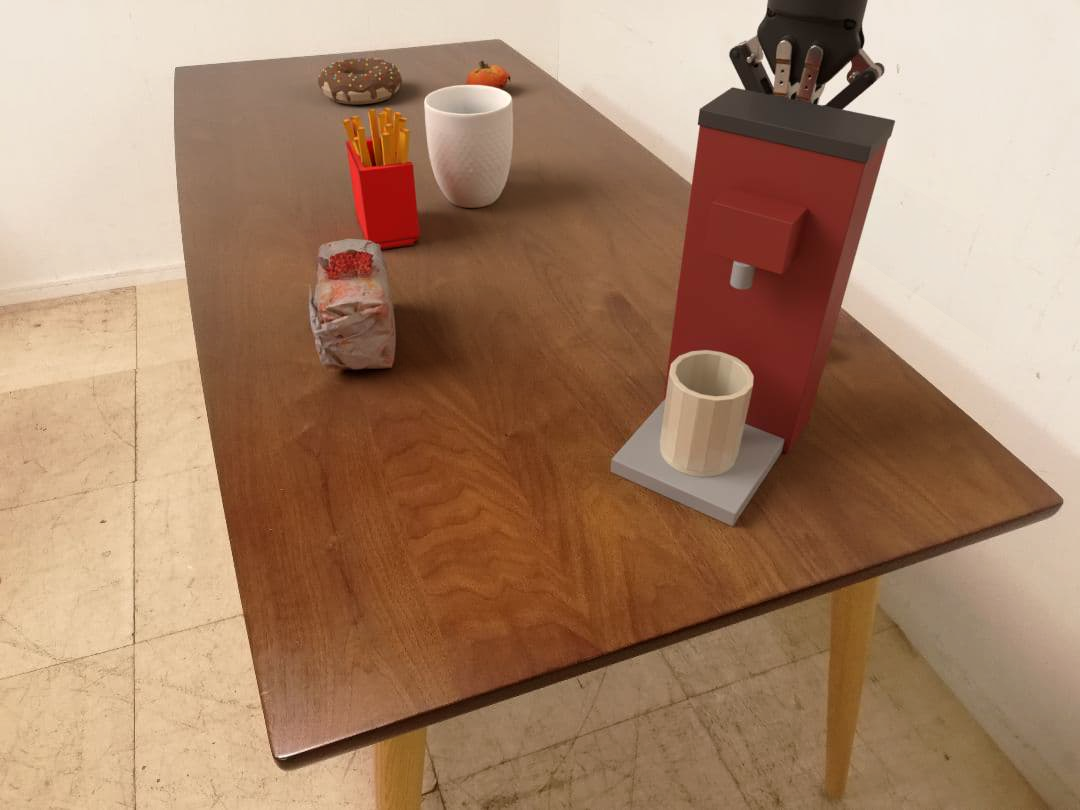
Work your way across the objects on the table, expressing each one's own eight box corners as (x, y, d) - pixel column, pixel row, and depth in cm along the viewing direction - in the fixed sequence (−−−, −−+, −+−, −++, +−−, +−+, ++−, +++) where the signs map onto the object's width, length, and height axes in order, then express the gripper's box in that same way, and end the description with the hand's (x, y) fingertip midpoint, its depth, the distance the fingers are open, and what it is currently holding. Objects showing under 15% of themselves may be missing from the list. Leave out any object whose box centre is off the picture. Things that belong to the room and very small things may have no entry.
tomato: (500, 71, 146) (505, 48, 139) (515, 106, 145) (520, 84, 138) (458, 83, 144) (460, 60, 137) (472, 119, 144) (475, 97, 136)
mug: (445, 167, 117) (438, 73, 109) (521, 171, 116) (521, 76, 108) (423, 214, 105) (414, 112, 97) (508, 218, 105) (506, 116, 96)
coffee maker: (739, 530, 63) (817, 204, 46) (603, 469, 69) (628, 155, 52) (811, 419, 74) (895, 120, 57) (688, 373, 79) (732, 86, 62)
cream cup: (739, 432, 70) (755, 356, 65) (734, 483, 65) (751, 405, 60) (664, 420, 71) (674, 345, 66) (654, 469, 67) (664, 392, 61)
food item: (405, 375, 79) (394, 286, 72) (320, 386, 77) (301, 296, 71) (391, 301, 89) (381, 217, 83) (316, 310, 87) (300, 225, 81)
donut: (347, 115, 133) (343, 83, 130) (307, 93, 141) (302, 63, 138) (421, 96, 140) (419, 66, 137) (379, 76, 148) (376, 47, 145)
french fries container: (409, 212, 106) (398, 102, 97) (425, 244, 99) (415, 130, 90) (354, 219, 104) (338, 109, 95) (367, 253, 97) (351, 137, 88)
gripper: (930, -53, 62) (870, 167, 73) (764, -72, 67) (731, 136, 78) (904, -37, 57) (844, 198, 68) (726, -58, 62) (697, 161, 73)
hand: (783, 164), depth 73 cm, fingers closed
